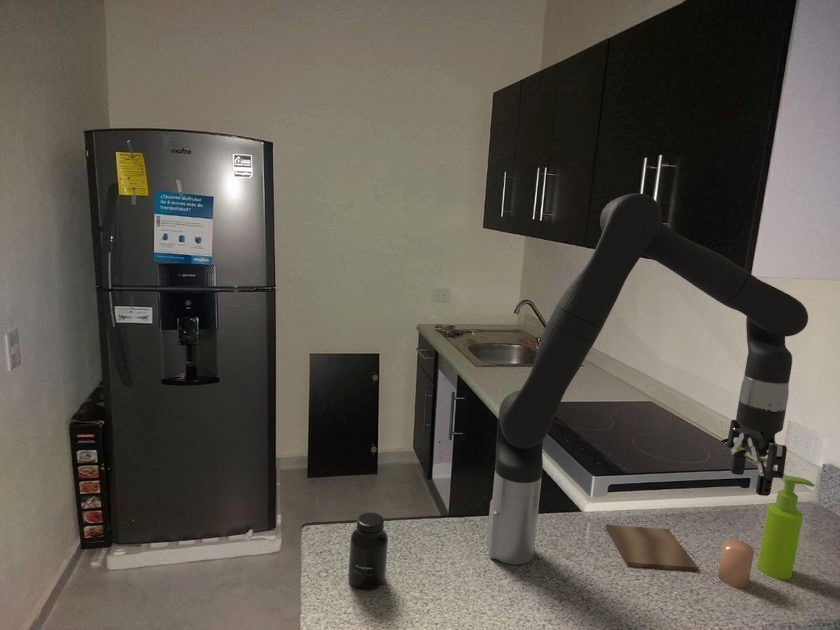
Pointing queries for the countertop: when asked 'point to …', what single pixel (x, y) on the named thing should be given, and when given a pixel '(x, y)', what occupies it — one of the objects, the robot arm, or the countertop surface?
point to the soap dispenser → (781, 531)
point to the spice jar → (736, 563)
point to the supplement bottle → (368, 552)
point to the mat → (650, 548)
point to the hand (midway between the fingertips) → (749, 483)
